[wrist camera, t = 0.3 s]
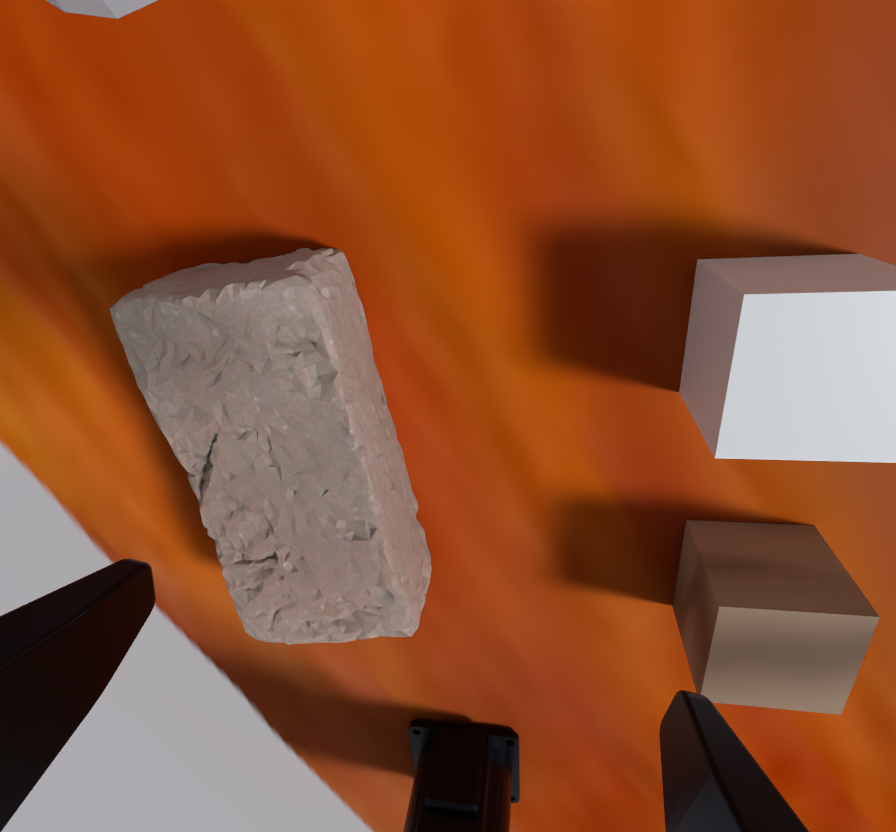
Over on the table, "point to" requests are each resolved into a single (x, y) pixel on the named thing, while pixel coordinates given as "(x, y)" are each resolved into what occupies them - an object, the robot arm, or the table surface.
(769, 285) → the white cube
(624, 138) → the table surface
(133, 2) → the french press
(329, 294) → the brick
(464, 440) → the table surface
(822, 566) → the walnut cube
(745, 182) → the table surface
